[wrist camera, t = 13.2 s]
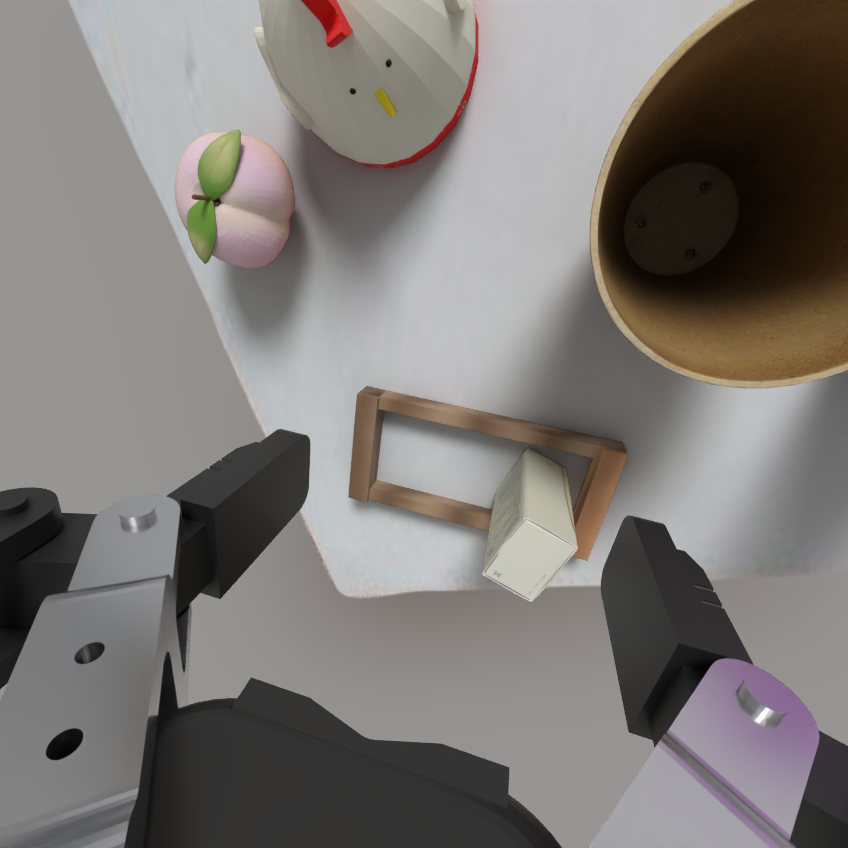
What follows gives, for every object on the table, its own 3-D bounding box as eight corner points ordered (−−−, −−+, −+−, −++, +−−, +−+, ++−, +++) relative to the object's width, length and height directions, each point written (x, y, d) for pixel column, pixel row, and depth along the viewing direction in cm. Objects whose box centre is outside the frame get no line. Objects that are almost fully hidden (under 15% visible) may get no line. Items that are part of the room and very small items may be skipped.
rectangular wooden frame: (622, 442, 38) (628, 455, 35) (584, 544, 42) (587, 560, 40) (366, 386, 41) (357, 394, 39) (357, 485, 46) (348, 497, 44)
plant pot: (589, 98, 29) (642, -46, 15) (838, 101, 26) (1202, -74, 12) (549, 318, 35) (560, 367, 21) (749, 339, 32) (922, 412, 18)
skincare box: (531, 513, 42) (531, 606, 31) (492, 491, 42) (478, 576, 32) (568, 466, 40) (582, 550, 29) (526, 443, 40) (524, 517, 29)
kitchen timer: (353, 202, 35) (242, 174, 22) (264, 21, 32) (68, -144, 19) (510, 98, 30) (492, -22, 17) (424, -130, 27) (315, -508, 13)
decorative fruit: (238, 129, 35) (138, 89, 26) (327, 165, 35) (255, 136, 26) (223, 245, 39) (132, 244, 30) (303, 278, 39) (233, 288, 30)
